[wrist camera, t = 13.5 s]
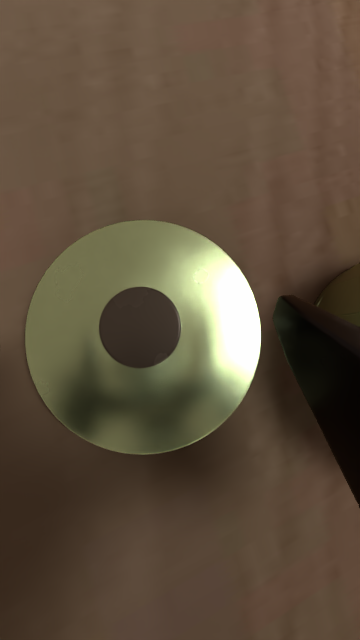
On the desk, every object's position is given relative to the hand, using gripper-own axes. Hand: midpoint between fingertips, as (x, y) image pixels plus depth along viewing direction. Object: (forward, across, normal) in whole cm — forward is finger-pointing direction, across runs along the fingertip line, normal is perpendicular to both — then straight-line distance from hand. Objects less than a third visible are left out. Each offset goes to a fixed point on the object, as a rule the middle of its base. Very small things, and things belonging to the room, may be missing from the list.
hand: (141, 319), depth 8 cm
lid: (+4, 0, +4) cm, 6 cm away
